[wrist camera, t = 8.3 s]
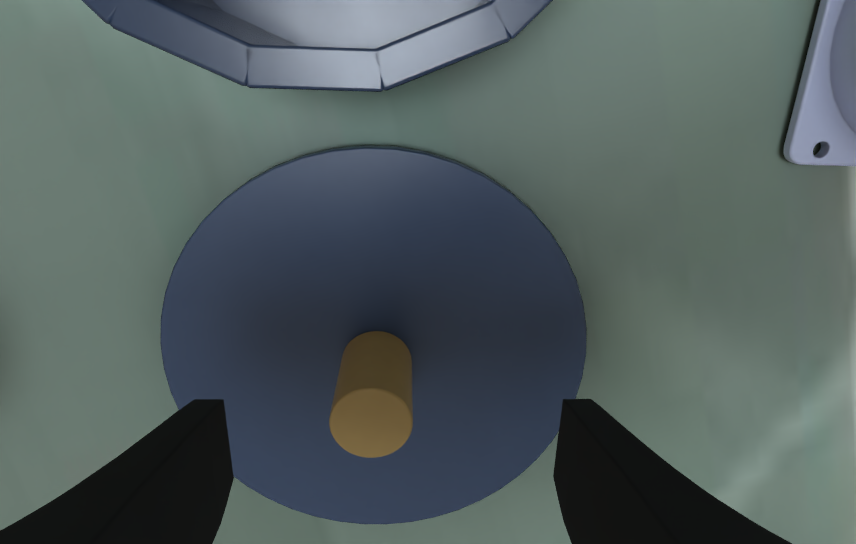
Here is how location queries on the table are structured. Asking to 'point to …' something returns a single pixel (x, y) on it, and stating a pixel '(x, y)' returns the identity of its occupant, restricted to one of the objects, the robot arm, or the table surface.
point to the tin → (321, 37)
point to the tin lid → (376, 333)
